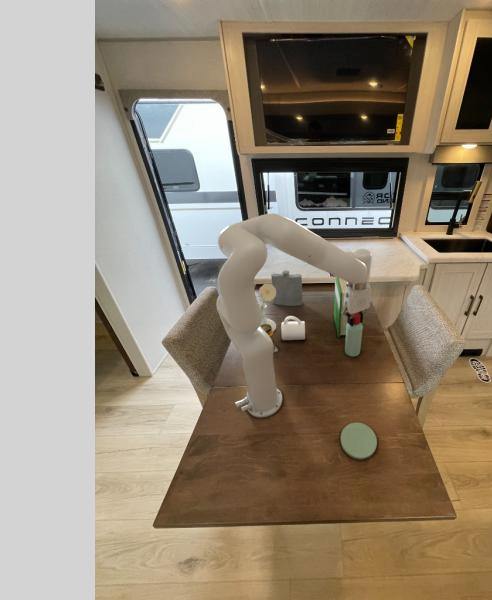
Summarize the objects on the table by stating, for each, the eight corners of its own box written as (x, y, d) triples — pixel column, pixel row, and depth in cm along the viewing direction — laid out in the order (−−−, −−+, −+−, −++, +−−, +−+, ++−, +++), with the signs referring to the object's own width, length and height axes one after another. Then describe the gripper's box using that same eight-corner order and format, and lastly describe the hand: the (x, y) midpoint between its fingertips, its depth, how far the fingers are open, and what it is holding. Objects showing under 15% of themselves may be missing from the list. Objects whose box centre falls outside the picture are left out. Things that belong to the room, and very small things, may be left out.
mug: (305, 343, 119) (304, 321, 113) (282, 344, 119) (280, 322, 112) (305, 331, 126) (304, 310, 120) (283, 332, 125) (281, 311, 119)
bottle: (350, 358, 111) (353, 322, 101) (341, 349, 116) (343, 313, 105) (363, 353, 114) (367, 317, 103) (353, 344, 118) (357, 309, 108)
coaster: (354, 467, 75) (355, 465, 74) (333, 434, 83) (333, 432, 82) (384, 447, 79) (384, 445, 79) (361, 418, 88) (361, 416, 87)
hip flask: (303, 302, 148) (301, 270, 137) (302, 306, 144) (300, 273, 134) (275, 301, 149) (271, 269, 138) (273, 305, 145) (269, 272, 135)
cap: (353, 326, 104) (354, 318, 102) (348, 321, 107) (348, 313, 105) (362, 323, 106) (362, 315, 104) (355, 318, 109) (356, 310, 107)
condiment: (278, 350, 115) (276, 329, 108) (260, 358, 111) (256, 336, 105) (271, 341, 120) (268, 320, 114) (253, 348, 116) (249, 326, 110)
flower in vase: (253, 339, 121) (245, 292, 108) (251, 325, 130) (244, 280, 117) (281, 334, 124) (277, 288, 111) (278, 320, 133) (273, 276, 120)
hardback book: (353, 336, 123) (357, 292, 110) (338, 337, 122) (340, 292, 110) (348, 314, 138) (351, 273, 125) (333, 315, 137) (335, 273, 124)
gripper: (345, 293, 90) (343, 334, 100) (382, 281, 97) (377, 321, 107) (333, 284, 96) (332, 324, 106) (369, 273, 103) (365, 312, 113)
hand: (354, 322), depth 106 cm, fingers closed on cap, 3 cm apart
